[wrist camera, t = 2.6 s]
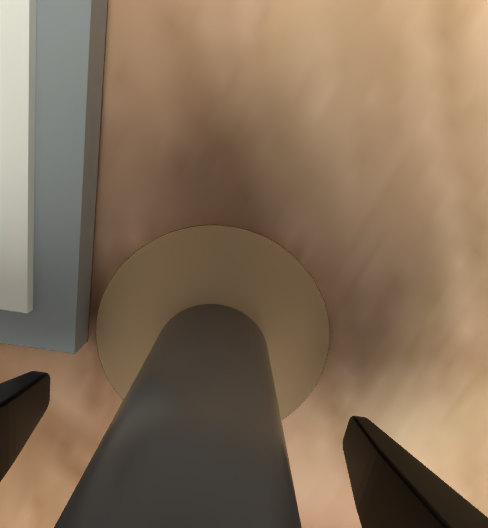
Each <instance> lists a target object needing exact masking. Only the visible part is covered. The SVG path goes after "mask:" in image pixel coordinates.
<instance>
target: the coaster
mask: <svg viewBox="0 0 488 528" xmlns="http://www.w3.org/2000/svg"><path fill="white" fill-rule="evenodd" d="M203 304H219V305H225V306H229V307H232V308H234V309H237V310H239V311H241V312H242V313H244V314H245V315H247V316H248V317H249V318H251V319H252V320H253V321H254V322H255V323H256V324H257V326H258V327H259V328H260V330H261V331H262V333H263V335H264V338H265V340H266V344H267V348H268V353H269V358H270V364H271V369H272V374H273V380H274V385H275V390H276V395H277V401H278V406H279V411H280V417H281V420H282V419H284V418H285V417H287V416H288V415H289V414H291V413H292V412H293V411H294V410H295V409H296V408H297V407H299V406H300V405H301V403H302V402H303V401H304V400H305V399H306V398H307V397H308V396H309V394H310V393H311V391H312V390H313V388H314V387H315V385H316V384H317V382H318V380H319V378H320V376H321V374H322V371H323V368H324V366H325V363H326V360H327V355H328V350H329V339H330V329H329V318H328V314H327V310H326V306H325V303H324V300H323V298H322V295H321V293H320V291H319V289H318V287H317V285H316V284H315V282H314V280H313V278H312V277H311V276H310V275H309V273H308V272H307V271H306V269H305V268H304V267H303V266H302V264H301V263H300V262H299V261H298V260H297V259H296V258H295V257H294V256H292V255H291V254H290V253H289V252H288V251H287V250H285V249H284V248H283V247H281V246H280V245H278V244H277V243H275V242H273V241H272V240H270V239H268V238H266V237H264V236H262V235H259V234H257V233H254V232H252V231H249V230H245V229H241V228H237V227H231V226H222V225H201V226H194V227H188V228H184V229H180V230H177V231H173V232H170V233H168V234H166V235H164V236H161V237H159V238H157V239H155V240H153V241H152V242H150V243H149V244H147V245H145V246H144V247H142V248H141V249H139V250H138V251H137V252H135V253H134V254H133V255H132V256H131V257H129V258H128V259H127V260H126V261H125V262H124V263H123V265H122V266H121V267H120V268H119V269H118V270H117V271H116V273H115V274H114V276H113V277H112V279H111V280H110V282H109V284H108V286H107V288H106V290H105V292H104V294H103V296H102V299H101V303H100V306H99V309H98V315H97V322H96V342H97V348H98V354H99V357H100V361H101V364H102V367H103V369H104V371H105V374H106V376H107V378H108V380H109V381H110V383H111V385H112V386H113V388H114V389H115V391H116V392H117V393H118V395H119V396H120V397H121V398H122V399H123V400H124V398H125V396H126V395H127V393H128V391H129V389H130V387H131V385H132V384H133V382H134V380H135V378H136V376H137V374H138V373H139V371H140V369H141V367H142V365H143V363H144V362H145V360H146V358H147V356H148V354H149V352H150V351H151V349H152V347H153V345H154V343H155V341H156V340H157V338H158V336H159V334H160V332H161V330H162V329H163V327H164V326H165V325H166V323H167V322H168V321H169V320H170V319H171V318H172V317H174V316H175V315H176V314H178V313H180V312H181V311H183V310H185V309H187V308H190V307H193V306H197V305H203Z"/></svg>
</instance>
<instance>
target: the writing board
mask: <svg viewBox="0 0 488 528" xmlns="http://www.w3.org/2000/svg"><path fill="white" fill-rule="evenodd" d="M107 3H108V0H0V343H3V344H10V345H16V346H23V347H30V348H37V349H44V350H51V351H58V352H65V353H72V354H75V353H76V352H77V351H78V350H79V349H80V348H81V347H82V346H83V345H84V344H85V343H86V342H87V341H88V325H89V308H90V291H91V275H92V258H93V241H94V224H95V207H96V190H97V173H98V156H99V139H100V122H101V105H102V88H103V71H104V54H105V37H106V20H107Z"/></svg>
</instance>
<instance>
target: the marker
mask: <svg viewBox="0 0 488 528" xmlns="http://www.w3.org/2000/svg"><path fill="white" fill-rule="evenodd" d="M54 528H301V523H300V517H299V512H298V507H297V501H296V496H295V491H294V486H293V480H292V475H291V470H290V464H289V459H288V454H287V448H286V443H285V438H284V433H283V427H282V422H281V417H280V411H279V406H278V401H277V395H276V390H275V385H274V380H273V374H272V369H271V364H270V358H269V353H268V348H267V344H266V340H265V338H264V335H263V333H262V331H261V330H260V328H259V327H258V326H257V324H256V323H255V322H254V321H253V320H252V319H251V318H249V317H248V316H247V315H245V314H244V313H242V312H241V311H239V310H237V309H234V308H232V307H229V306H225V305H219V304H203V305H197V306H193V307H190V308H187V309H185V310H183V311H181V312H180V313H178V314H176V315H175V316H174V317H172V318H171V319H170V320H169V321H168V322H167V323H166V325H165V326H164V327H163V329H162V330H161V332H160V334H159V336H158V338H157V340H156V341H155V343H154V345H153V347H152V349H151V351H150V352H149V354H148V356H147V358H146V360H145V362H144V363H143V365H142V367H141V369H140V371H139V373H138V374H137V376H136V378H135V380H134V382H133V384H132V385H131V387H130V389H129V391H128V393H127V395H126V396H125V398H124V400H123V402H122V404H121V406H120V408H119V409H118V411H117V413H116V415H115V417H114V419H113V420H112V422H111V424H110V426H109V428H108V430H107V431H106V433H105V435H104V437H103V439H102V441H101V442H100V444H99V446H98V448H97V450H96V452H95V453H94V455H93V457H92V459H91V461H90V463H89V464H88V466H87V468H86V470H85V472H84V474H83V475H82V477H81V479H80V481H79V483H78V485H77V486H76V488H75V490H74V492H73V494H72V496H71V497H70V499H69V501H68V503H67V505H66V507H65V508H64V510H63V512H62V514H61V516H60V518H59V520H58V521H57V523H56V525H55V527H54Z"/></svg>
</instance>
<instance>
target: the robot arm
mask: <svg viewBox="0 0 488 528" xmlns="http://www.w3.org/2000/svg"><path fill="white" fill-rule="evenodd" d="M49 400H50V375H49V374H48V373H44V372H37V371H31V372H29V373H26V374H23V375H21V376H18V377H16V378H13V379H11V380H8V381H6V382H3V383H1V384H0V481H1V480H2V479H3V477H4V476H5V474H6V473H7V472H8V470H9V469H10V467H11V466H12V464H13V463H14V461H15V460H16V458H17V456H18V455H19V453H20V452H21V450H22V448H23V447H24V445H25V443H26V442H27V440H28V439H29V437H30V435H31V434H32V432H33V430H34V429H35V427H36V426H37V424H38V422H39V421H40V419H41V418H42V416H43V414H44V413H45V411H46V409H47V407H48V405H49ZM343 451H344V455H345V460H346V464H347V469H348V473H349V478H350V482H351V487H352V491H353V496H354V500H355V504H356V509H357V512H358V516H359V519H360V522H361V526H362V528H488V518H487V517H486V516H485V515H484V514H483V513H481V512H480V511H479V510H478V509H477V508H475V507H474V506H473V505H472V504H471V503H469V502H468V501H467V500H466V499H464V498H463V497H462V496H461V495H460V494H458V493H457V492H456V491H455V490H454V489H452V488H451V487H450V486H449V485H448V484H446V483H445V482H444V481H443V480H441V479H440V478H439V477H438V476H437V475H435V474H434V473H433V472H432V471H431V470H429V469H428V468H427V467H426V466H424V465H423V464H422V463H421V462H420V461H418V460H417V459H416V458H415V457H414V456H412V455H411V454H410V453H409V452H408V451H406V450H405V449H404V448H403V447H401V446H400V445H399V444H398V443H397V442H395V441H394V440H393V439H392V438H391V437H389V436H388V435H387V434H386V433H385V432H383V431H382V430H381V429H380V428H378V427H377V426H376V425H375V424H374V423H372V422H371V421H370V420H369V419H367V418H365V417H359V416H352V417H351V418H350V419H349V422H348V425H347V429H346V432H345V435H344V438H343Z"/></svg>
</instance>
